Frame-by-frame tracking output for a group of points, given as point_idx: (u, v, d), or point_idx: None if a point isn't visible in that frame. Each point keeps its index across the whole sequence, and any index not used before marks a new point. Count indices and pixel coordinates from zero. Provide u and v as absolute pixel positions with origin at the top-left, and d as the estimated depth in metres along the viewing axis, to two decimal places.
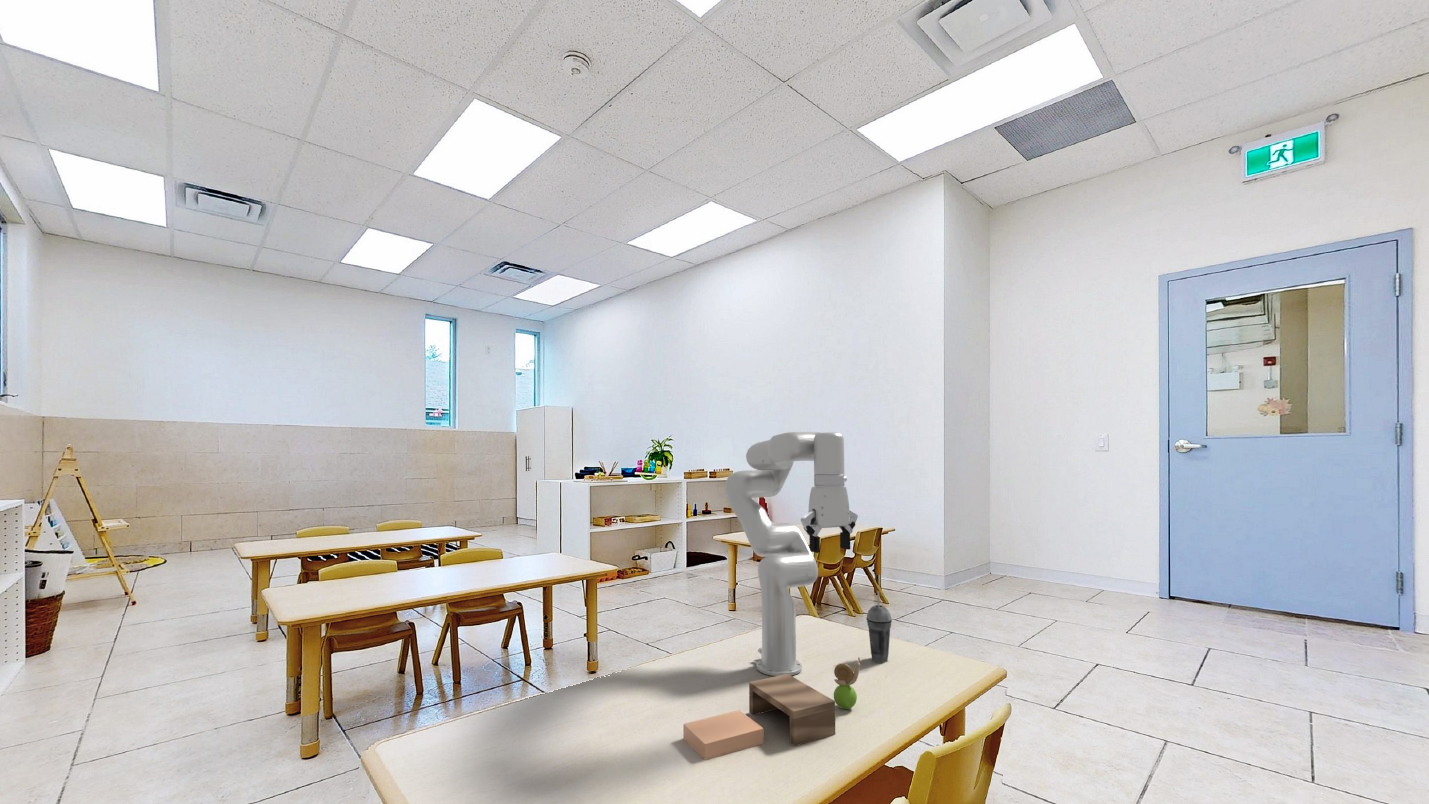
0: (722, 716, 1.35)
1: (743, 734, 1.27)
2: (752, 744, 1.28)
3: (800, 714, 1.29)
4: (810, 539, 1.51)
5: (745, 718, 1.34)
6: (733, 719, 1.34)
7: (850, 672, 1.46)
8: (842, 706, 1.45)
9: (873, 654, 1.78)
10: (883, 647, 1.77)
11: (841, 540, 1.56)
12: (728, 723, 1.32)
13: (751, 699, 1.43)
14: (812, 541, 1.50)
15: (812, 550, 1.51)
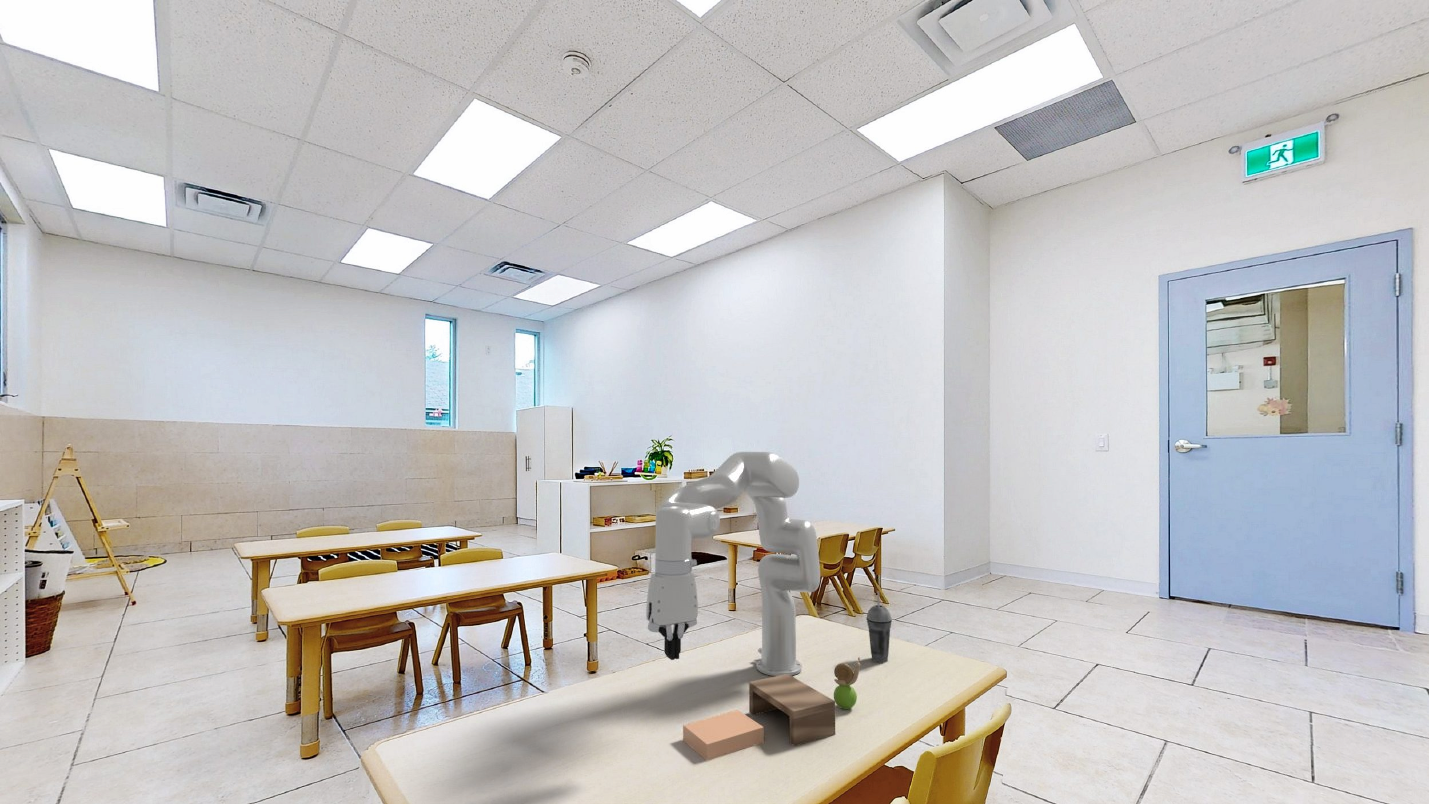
0: (721, 716, 1.35)
1: (744, 733, 1.28)
2: (752, 743, 1.29)
3: (800, 714, 1.29)
4: (665, 642, 1.26)
5: (744, 717, 1.35)
6: (732, 718, 1.34)
7: (850, 672, 1.46)
8: (842, 706, 1.45)
9: (873, 654, 1.78)
10: (883, 647, 1.77)
11: None
12: (728, 723, 1.32)
13: (751, 699, 1.43)
14: (666, 645, 1.25)
15: (667, 655, 1.26)
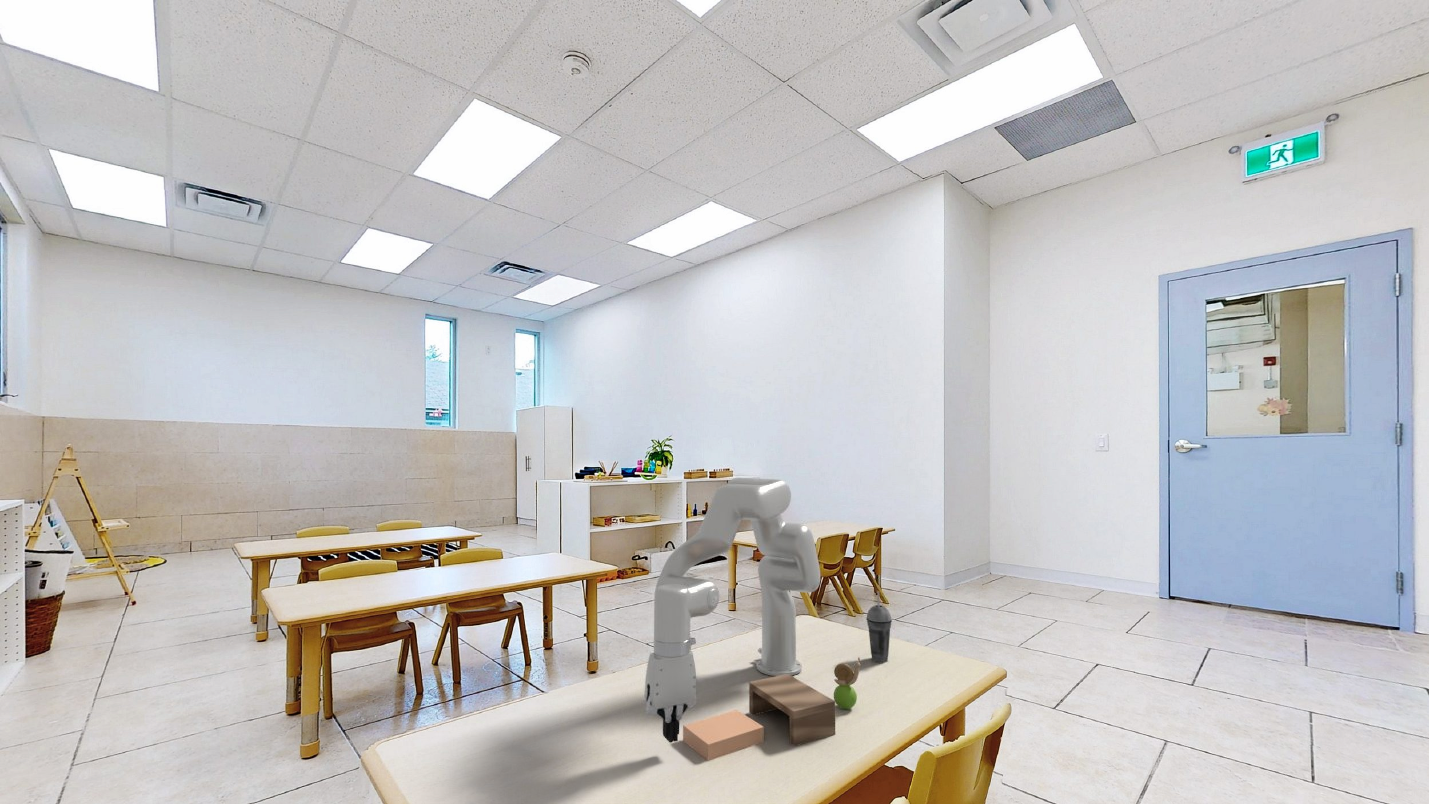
0: (720, 716, 1.35)
1: (745, 733, 1.28)
2: (753, 743, 1.29)
3: (800, 714, 1.29)
4: (663, 724, 1.25)
5: (744, 717, 1.35)
6: (732, 718, 1.34)
7: (850, 672, 1.46)
8: (842, 706, 1.45)
9: (873, 654, 1.78)
10: (883, 647, 1.77)
11: None
12: (728, 723, 1.32)
13: (751, 699, 1.43)
14: (665, 727, 1.24)
15: (666, 737, 1.25)
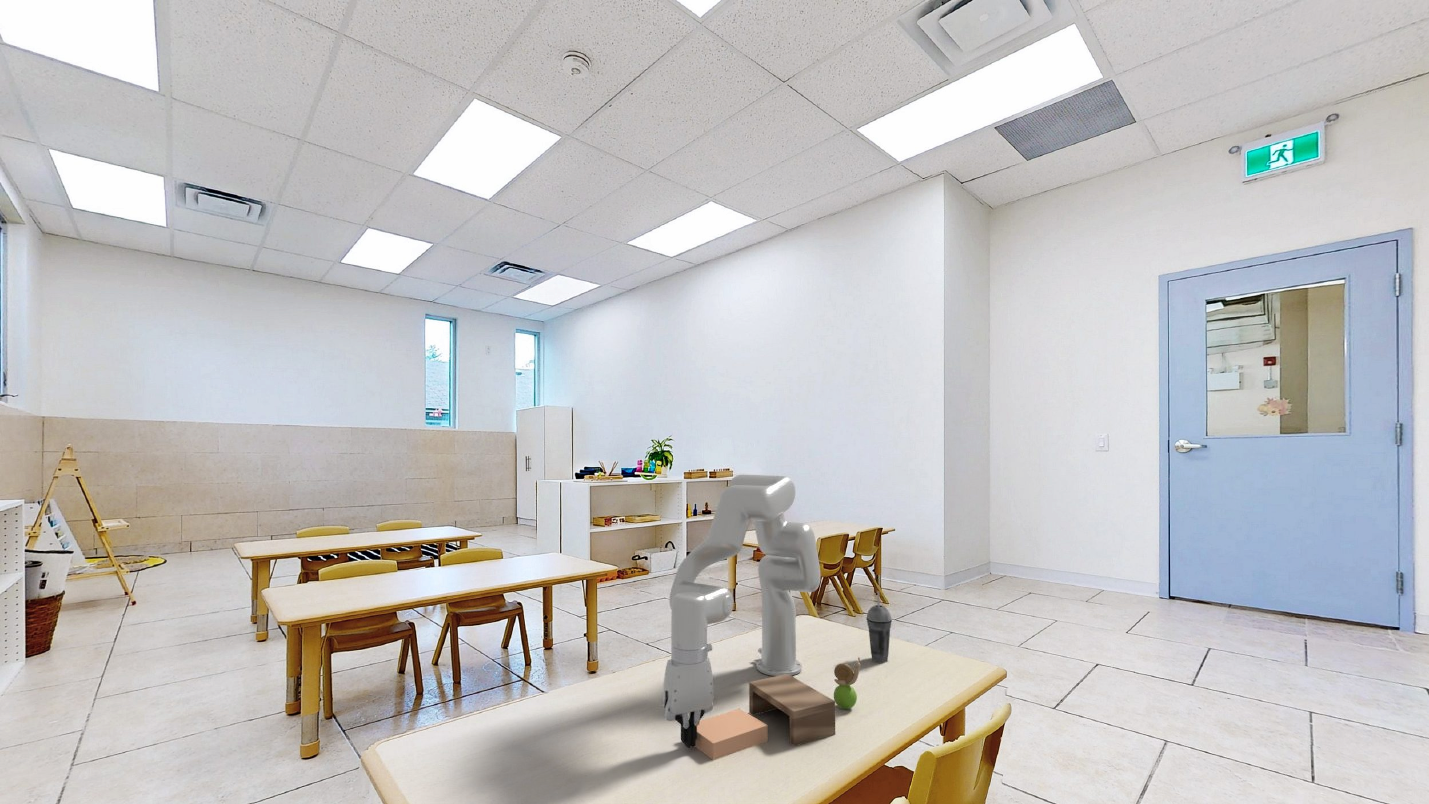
0: (724, 715, 1.35)
1: (749, 732, 1.28)
2: (757, 741, 1.29)
3: (800, 714, 1.29)
4: (681, 729, 1.27)
5: (747, 716, 1.35)
6: (735, 717, 1.35)
7: (850, 672, 1.46)
8: (842, 706, 1.45)
9: (873, 654, 1.78)
10: (883, 647, 1.77)
11: None
12: (731, 722, 1.32)
13: (751, 699, 1.43)
14: (683, 733, 1.26)
15: (684, 742, 1.27)
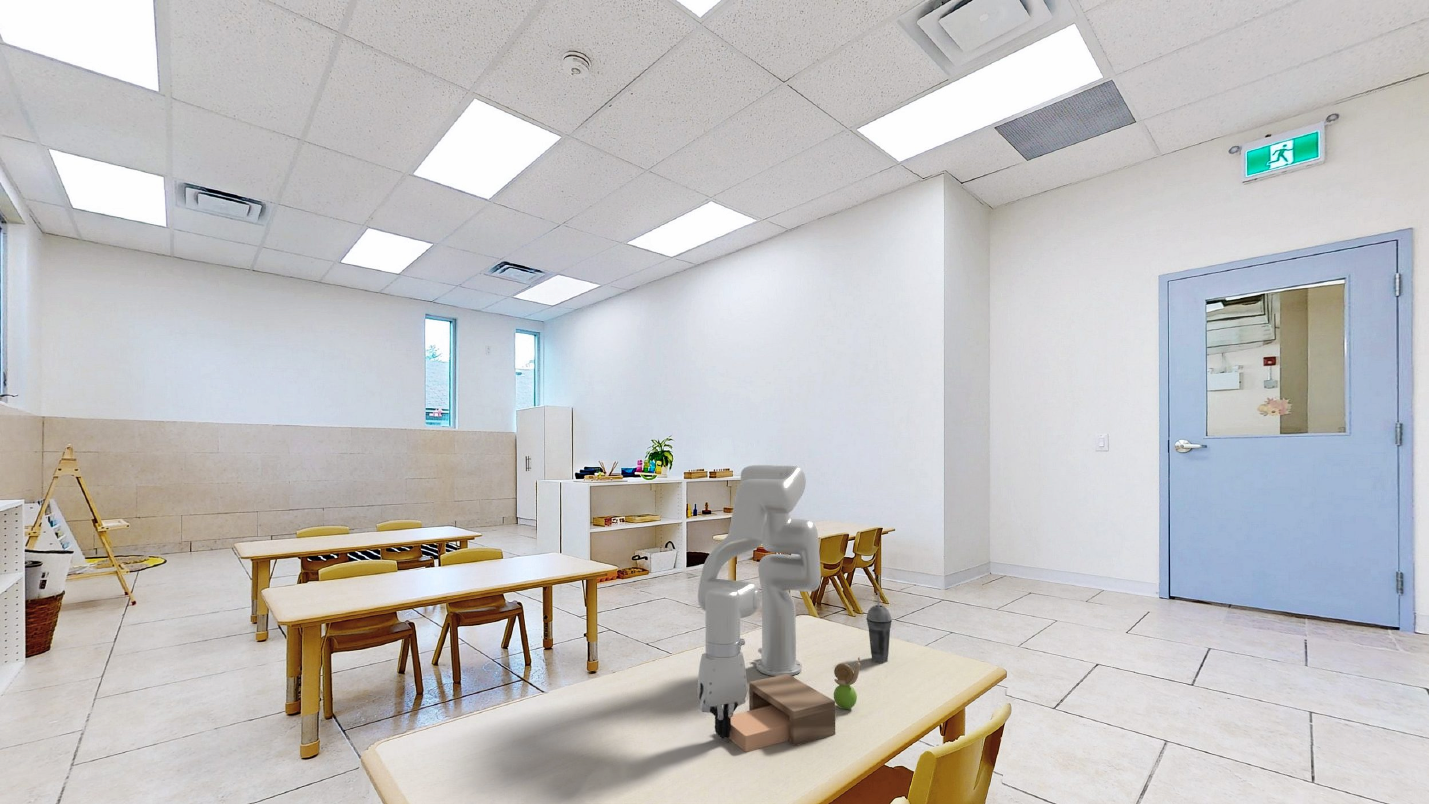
0: (759, 710, 1.38)
1: (782, 727, 1.30)
2: None
3: (800, 714, 1.29)
4: (716, 721, 1.30)
5: (781, 712, 1.37)
6: (770, 712, 1.37)
7: (850, 672, 1.46)
8: (842, 706, 1.45)
9: (873, 654, 1.78)
10: (883, 647, 1.77)
11: None
12: (765, 717, 1.35)
13: (751, 699, 1.43)
14: (717, 724, 1.30)
15: (718, 733, 1.31)
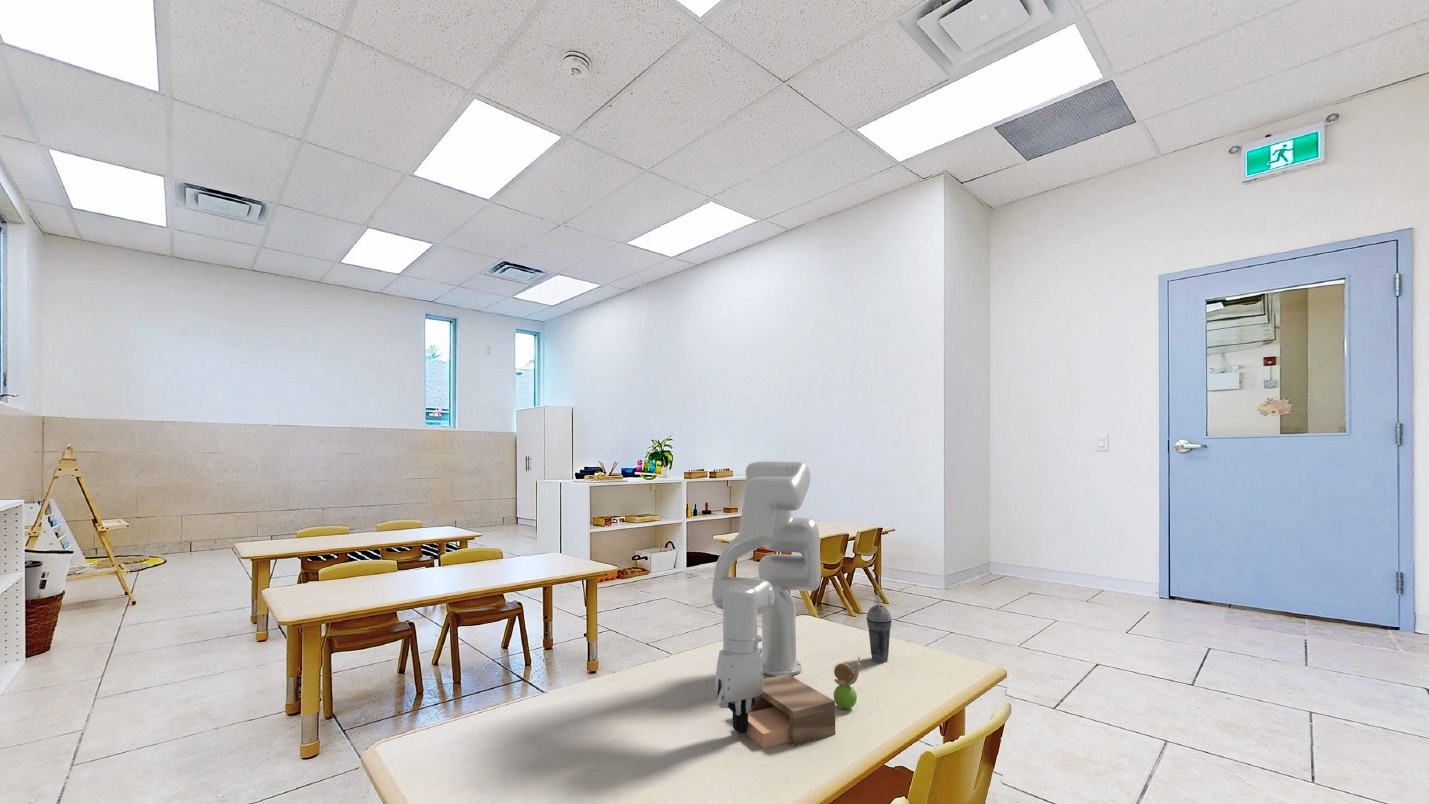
0: (776, 708, 1.40)
1: None
2: None
3: (800, 714, 1.29)
4: (733, 717, 1.32)
5: None
6: None
7: (850, 672, 1.46)
8: (842, 706, 1.45)
9: (873, 654, 1.78)
10: (883, 647, 1.77)
11: None
12: (783, 715, 1.36)
13: None
14: (735, 720, 1.32)
15: (735, 729, 1.33)
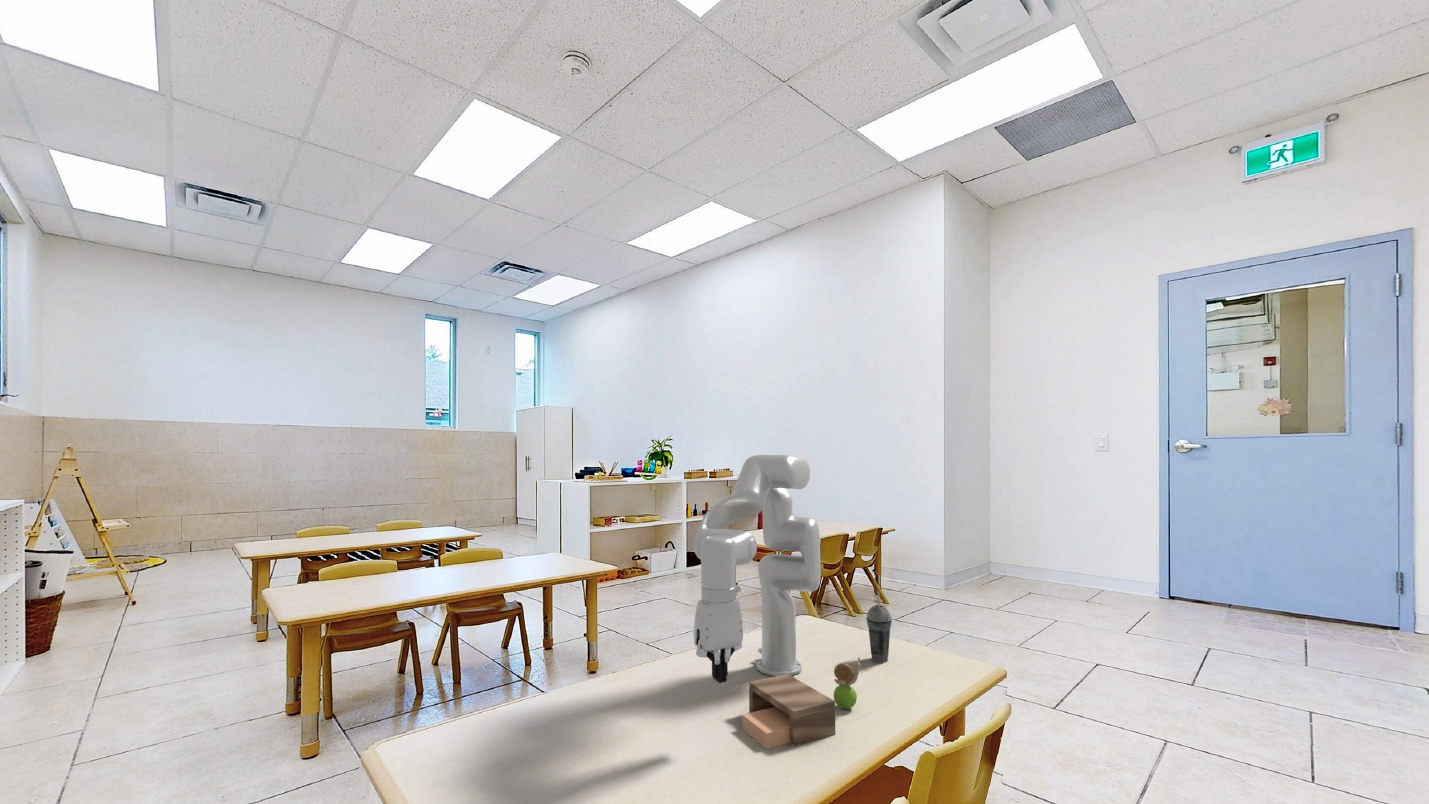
0: None
1: None
2: None
3: (800, 714, 1.29)
4: (712, 666, 1.31)
5: None
6: None
7: (850, 672, 1.46)
8: (842, 706, 1.45)
9: (873, 654, 1.78)
10: (883, 647, 1.77)
11: None
12: (785, 714, 1.36)
13: (751, 699, 1.43)
14: (714, 669, 1.31)
15: (715, 678, 1.32)
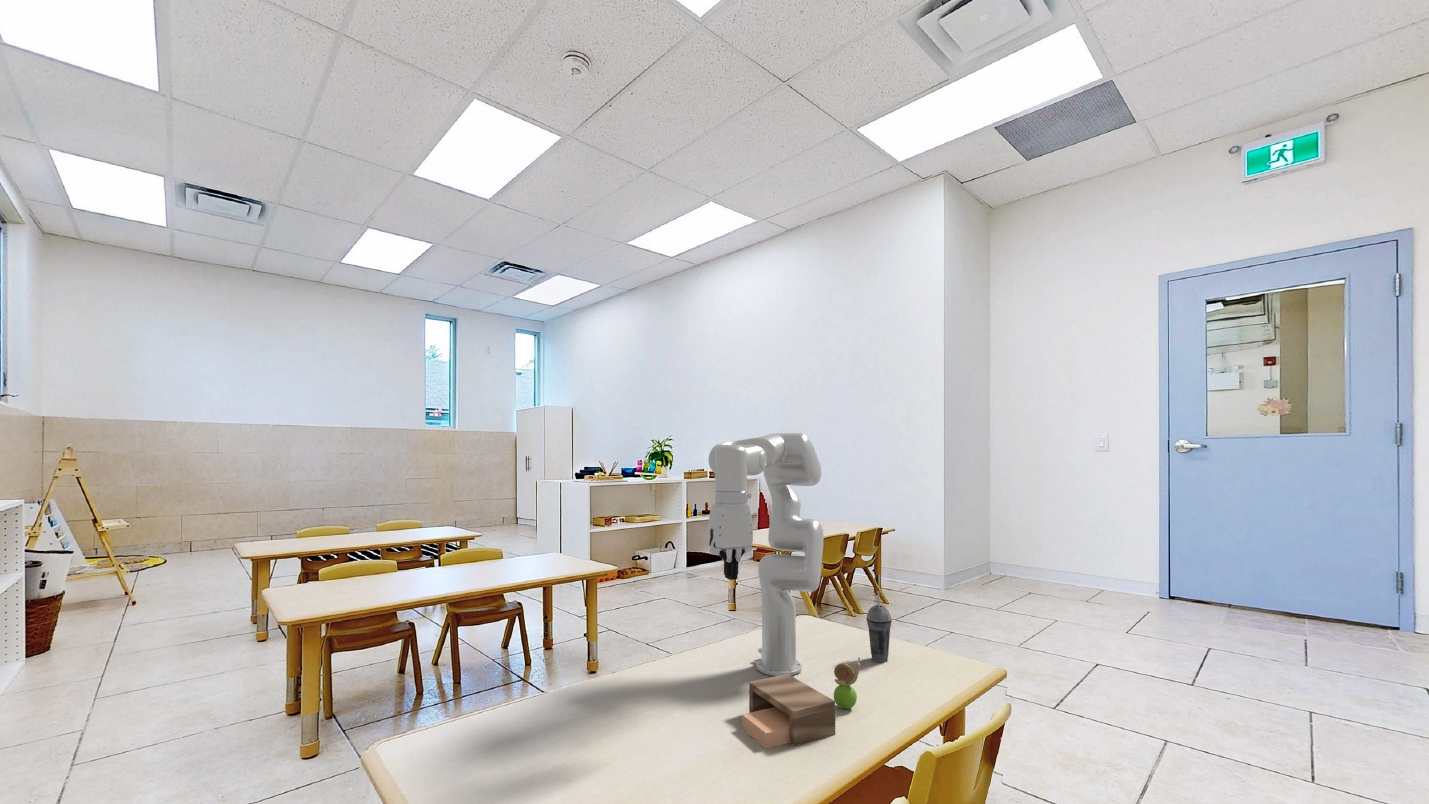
0: None
1: None
2: None
3: (800, 714, 1.29)
4: (724, 565, 1.41)
5: None
6: None
7: (850, 672, 1.46)
8: (842, 706, 1.45)
9: (873, 654, 1.78)
10: (883, 647, 1.77)
11: None
12: (785, 714, 1.36)
13: (751, 699, 1.43)
14: (726, 567, 1.41)
15: (727, 576, 1.42)
